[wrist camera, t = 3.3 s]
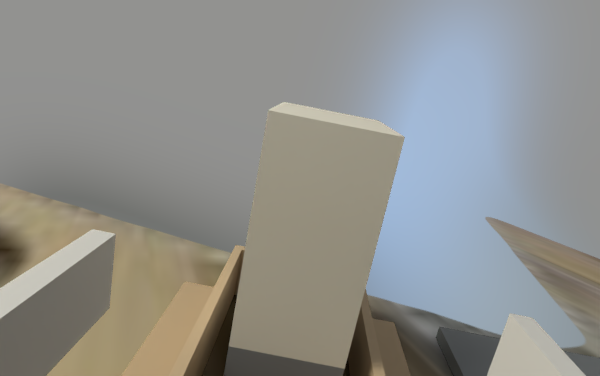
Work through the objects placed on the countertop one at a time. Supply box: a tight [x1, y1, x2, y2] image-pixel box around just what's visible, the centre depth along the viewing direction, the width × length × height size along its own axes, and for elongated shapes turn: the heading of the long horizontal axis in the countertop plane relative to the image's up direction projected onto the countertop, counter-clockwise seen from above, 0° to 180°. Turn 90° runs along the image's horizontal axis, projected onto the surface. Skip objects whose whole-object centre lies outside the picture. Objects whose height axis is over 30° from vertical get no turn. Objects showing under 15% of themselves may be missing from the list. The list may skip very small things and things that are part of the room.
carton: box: [121, 245, 411, 376], centre depth 25 cm, size 17×23×4 cm
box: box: [224, 102, 404, 376], centre depth 23 cm, size 6×8×16 cm
